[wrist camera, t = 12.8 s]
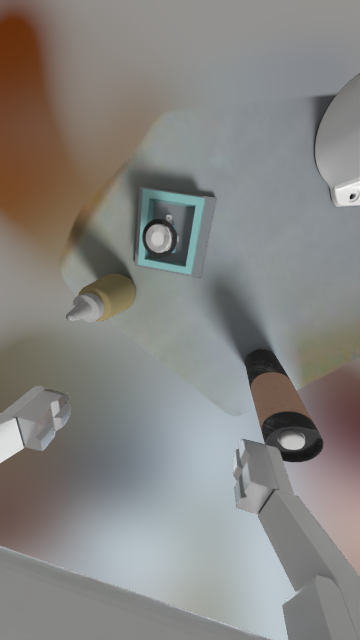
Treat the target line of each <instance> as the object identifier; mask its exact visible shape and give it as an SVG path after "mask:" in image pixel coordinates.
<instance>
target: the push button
mask: <svg viewBox="0 0 360 640" xmlns="http://www.w3.org/2000/svg"><path fill="white" fill-rule="evenodd" d="M169 217H170V219H169ZM166 218H167V221H166V220H164V219H154V220H151V221H150V222H149V223H148V224H147V225H146V226H145V228H144V230H143V234H142V241H143V245H144V247H145V249H146V250H147V251H148V252H149V253H150V254H151V255H153V256H155V257H165V256H168V255H169V254H171V253H175V252H176V244H177V242H179V236H177V233H176V230H175V225H173V222H172V216H171V215H166ZM162 224H164V225H162ZM161 252H163V253H161Z"/></svg>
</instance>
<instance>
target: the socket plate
mask: <svg viewBox="0 0 360 640" xmlns="http://www.w3.org/2000/svg"><path fill="white" fill-rule="evenodd" d="M215 203H216V198H214V197H208V196H201V195H194V194H188V193H181V192H175V191H168V190H162V189H155V188H149V187H142V186H139V200H138V217H137V234H136V251H135V266H141V267H146V268H151V269H156V270H162V271H167V272H172V273H177V274H182V275H188V276H193V277H198V278H200V277H201V273H202V268H203V263H204V258H205V253H206V248H207V243H208V238H209V233H210V228H211V223H212V218H213V213H214V208H215ZM166 215H171V216H172V222H173V225H175V230H176V233H177V236H179V242H177V244H176V252H175V253H171V254H169V255H168V256H165V257H155V256H153V255H151V254H150V253H149V252H148V251H147V250H146V249H145V247H144V245H143V241H142V234H143V230H144V228H145V226H146V225H147V224H148V223H149V222H150V221H151V220H154V219H164V220H166V221H167V218H166ZM169 219H170V217H169ZM162 225H164V224H162ZM161 253H163V252H161Z"/></svg>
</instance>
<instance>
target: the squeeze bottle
mask: <svg viewBox="0 0 360 640" xmlns="http://www.w3.org/2000/svg"><path fill="white" fill-rule="evenodd" d="M135 295H136V287H135V284H134V282H133V281H132V280H131V279H130V278H128V277H126V276H123V275H120V274H113V273H111V274H109V275H106V276H104V277H102V278H100V279H98V280H97V281H95V282H93V283H91V284H89V285H87V286H86V287H84V288H83V289H82V290H81V291H80V292H79V295H78V296H77V297H76V298H75V299H74V301H73V309H72V310H71V311H70V312H69V313H68V314H67V315H66V318H67V320H69V321H74V320H78V319H81V320H83V321H85V322H93V321H104V320H107V319H109V318H111V317H113V316H114V315H116V314H118V313H120V312H122V311H124V310H126V309H128V308H129V307H130V306H131V305H132V304H133V302H134V299H135Z"/></svg>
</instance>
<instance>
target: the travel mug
mask: <svg viewBox="0 0 360 640" xmlns="http://www.w3.org/2000/svg"><path fill="white" fill-rule="evenodd" d="M245 364H246V370H247V374H248V379H249V384H250V389H251V393H252V397H253V401H254V404H255V408H256V412H257V416H258V419H259V423H260V427H261V430H262V434H263V438H264V442H265V445H268V446H273V447H276V448H278V449H279V451H280V453H281V456H282V459H283V461H288V462H303V461H307V460H310V459H313V458H314V457H316V456H317V455H318V454H319V453H320V452H321V451H322V449H323V440H322V438H321V436H320V434H319V432H318V430H317V428H316V426H315V425H314V423H313V421H312V419H311V417H310V415H309V414H308V412H307V410H306V408H305V406H304V404H303V403H302V401H301V399H300V397H299V395H298V393H297V391H296V389H295V388H294V386H293V384H292V382H291V380H290V379H289V377H288V375H287V374H286V372H285V371H284V369H283V367H282V366H281V364H280V362H279V361H278V359H277V358H276V356H275V355H274V354H273V353H272V352H270V351H267V350H256V351H254V352H252V353H250V354H249V355H248V357H247V358H246V363H245Z"/></svg>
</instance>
